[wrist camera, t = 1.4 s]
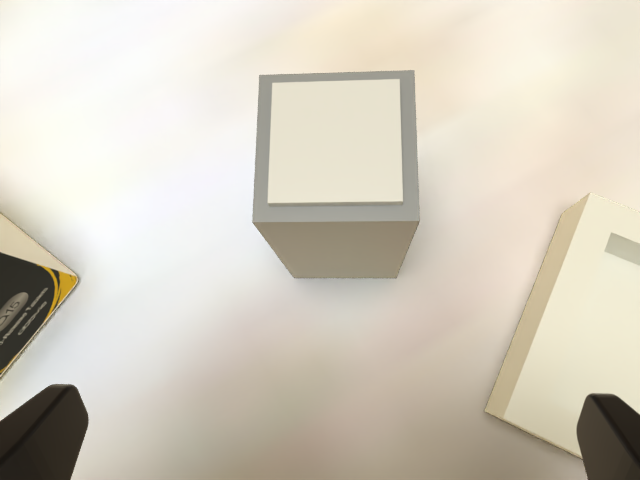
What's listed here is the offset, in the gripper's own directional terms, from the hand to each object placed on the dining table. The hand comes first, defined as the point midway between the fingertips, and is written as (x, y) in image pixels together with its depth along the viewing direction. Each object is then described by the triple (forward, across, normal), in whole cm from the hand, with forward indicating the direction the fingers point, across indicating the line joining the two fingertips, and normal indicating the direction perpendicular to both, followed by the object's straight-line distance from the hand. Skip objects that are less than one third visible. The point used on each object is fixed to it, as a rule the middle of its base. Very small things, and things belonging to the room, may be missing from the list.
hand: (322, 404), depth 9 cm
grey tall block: (+14, 0, +4) cm, 14 cm away
